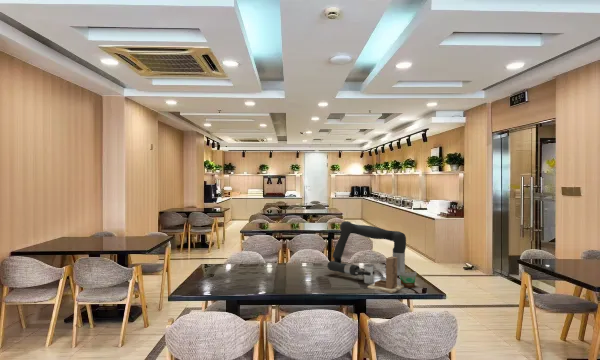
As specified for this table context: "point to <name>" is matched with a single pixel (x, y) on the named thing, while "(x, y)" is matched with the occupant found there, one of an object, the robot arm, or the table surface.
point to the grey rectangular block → (367, 278)
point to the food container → (407, 279)
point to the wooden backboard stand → (388, 278)
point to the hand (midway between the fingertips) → (372, 273)
